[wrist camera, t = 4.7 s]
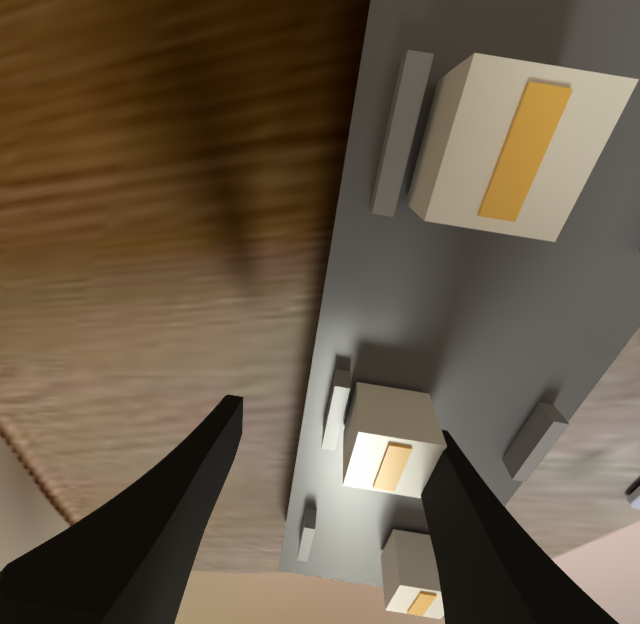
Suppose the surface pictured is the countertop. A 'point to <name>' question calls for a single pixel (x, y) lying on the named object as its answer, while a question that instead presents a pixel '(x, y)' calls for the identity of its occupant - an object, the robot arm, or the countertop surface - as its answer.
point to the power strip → (461, 276)
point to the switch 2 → (513, 144)
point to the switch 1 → (411, 575)
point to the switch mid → (390, 440)
